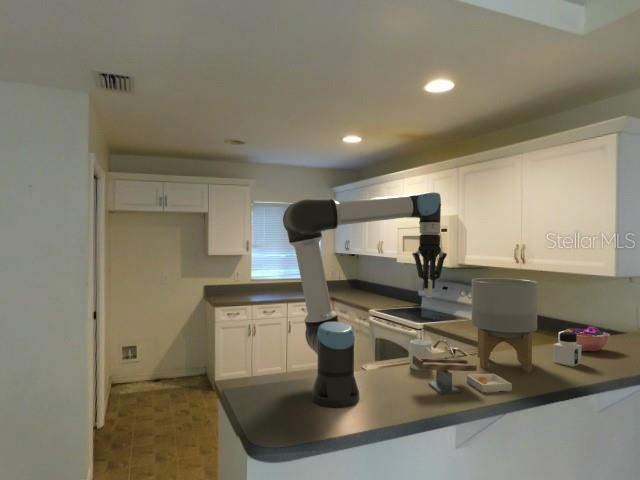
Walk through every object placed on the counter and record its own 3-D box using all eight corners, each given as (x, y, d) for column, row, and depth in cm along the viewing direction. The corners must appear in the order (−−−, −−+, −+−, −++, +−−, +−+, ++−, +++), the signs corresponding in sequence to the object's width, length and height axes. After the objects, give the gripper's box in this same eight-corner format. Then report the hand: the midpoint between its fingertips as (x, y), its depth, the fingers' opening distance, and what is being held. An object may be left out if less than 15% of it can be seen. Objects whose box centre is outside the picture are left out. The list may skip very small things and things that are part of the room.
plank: (420, 369, 140) (420, 360, 140) (406, 358, 152) (407, 350, 152) (476, 371, 142) (477, 362, 142) (458, 360, 155) (458, 352, 155)
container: (581, 363, 175) (581, 332, 175) (572, 367, 170) (572, 334, 170) (562, 359, 181) (562, 329, 181) (553, 362, 177) (553, 331, 177)
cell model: (553, 346, 204) (553, 322, 204) (591, 345, 207) (591, 322, 207) (578, 355, 188) (578, 330, 188) (620, 354, 190) (620, 329, 190)
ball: (480, 377, 145) (489, 377, 145) (476, 374, 148) (484, 374, 148) (480, 386, 145) (489, 386, 145) (475, 383, 148) (484, 383, 148)
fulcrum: (440, 394, 139) (440, 373, 139) (428, 384, 149) (428, 364, 149) (460, 393, 140) (460, 372, 140) (447, 383, 150) (447, 363, 150)
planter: (458, 359, 180) (458, 279, 180) (499, 352, 191) (499, 277, 191) (508, 376, 158) (508, 284, 158) (550, 367, 169) (551, 282, 169)
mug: (441, 372, 162) (441, 345, 162) (422, 374, 159) (422, 347, 159) (423, 363, 173) (423, 338, 173) (406, 365, 171) (406, 340, 171)
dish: (482, 392, 141) (482, 384, 141) (466, 382, 151) (466, 374, 151) (511, 391, 142) (511, 383, 142) (494, 380, 153) (494, 373, 153)
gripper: (416, 233, 153) (415, 298, 153) (450, 234, 155) (449, 298, 155) (409, 234, 160) (408, 296, 160) (442, 234, 162) (441, 296, 162)
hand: (428, 297), depth 158 cm, fingers closed
